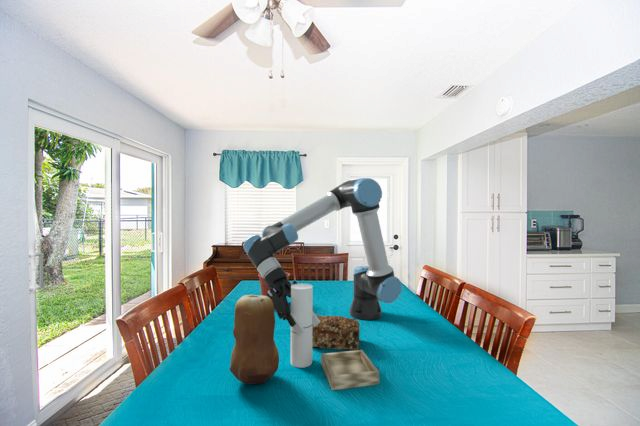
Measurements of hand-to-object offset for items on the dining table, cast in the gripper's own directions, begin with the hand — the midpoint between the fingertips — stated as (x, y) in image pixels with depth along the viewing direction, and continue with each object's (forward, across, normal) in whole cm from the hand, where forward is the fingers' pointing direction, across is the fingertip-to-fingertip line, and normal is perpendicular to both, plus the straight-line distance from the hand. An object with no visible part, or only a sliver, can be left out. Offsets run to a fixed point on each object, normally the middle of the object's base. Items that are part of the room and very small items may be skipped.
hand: (309, 328), depth 97 cm
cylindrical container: (+6, 0, -11) cm, 12 cm away
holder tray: (+17, -2, +1) cm, 18 cm away
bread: (+8, -18, -9) cm, 22 cm away
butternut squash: (+3, +16, -14) cm, 22 cm away
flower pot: (-27, -40, -44) cm, 65 cm away
